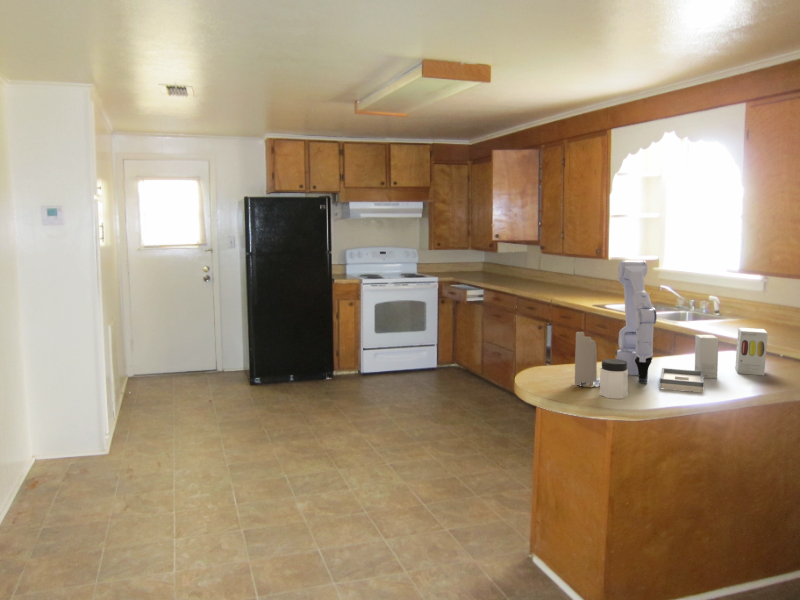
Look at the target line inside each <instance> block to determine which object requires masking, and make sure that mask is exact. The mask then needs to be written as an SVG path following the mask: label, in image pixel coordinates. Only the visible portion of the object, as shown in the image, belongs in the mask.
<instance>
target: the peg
mask: <svg viewBox="0 0 800 600" xmlns="http://www.w3.org/2000/svg"><path fill="white" fill-rule="evenodd" d="M648 373H649V370H648V371H647V376H646V379H640V378H639V373H638V375H637V382H638V383H639V384H647V383H648V379H649V378H648V376H649V375H648Z"/></svg>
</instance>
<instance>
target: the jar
mask: <svg viewBox="0 0 800 600" xmlns="http://www.w3.org/2000/svg"><path fill="white" fill-rule="evenodd" d="M599 371H600V374H599V375H600V376H599V382H600V387H599V396H601V397H603V396H604V397H603V398H606V399H610V398H611V400H612V399H613V400H622V399H624V398H626V397H627V396H628V379H629V375H628V369H627V362H626V361H624V360H619V359H617V358H605V359H602V361H601V368H600V370H599Z"/></svg>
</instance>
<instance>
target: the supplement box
mask: <svg viewBox="0 0 800 600" xmlns="http://www.w3.org/2000/svg"><path fill="white" fill-rule="evenodd" d="M768 335H769V333H768V332H767V330H765V329H764V328H752V327H750V328H749V327H738V329H737V340H736V341H737V342H736V344H737V345H736V354H735V366H734V368H735V370H736V373H737V374H741V375H742V374H743V375H753V376H754V375H755V376H765V370H766V357H767V348H768V347H767V346H768Z"/></svg>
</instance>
